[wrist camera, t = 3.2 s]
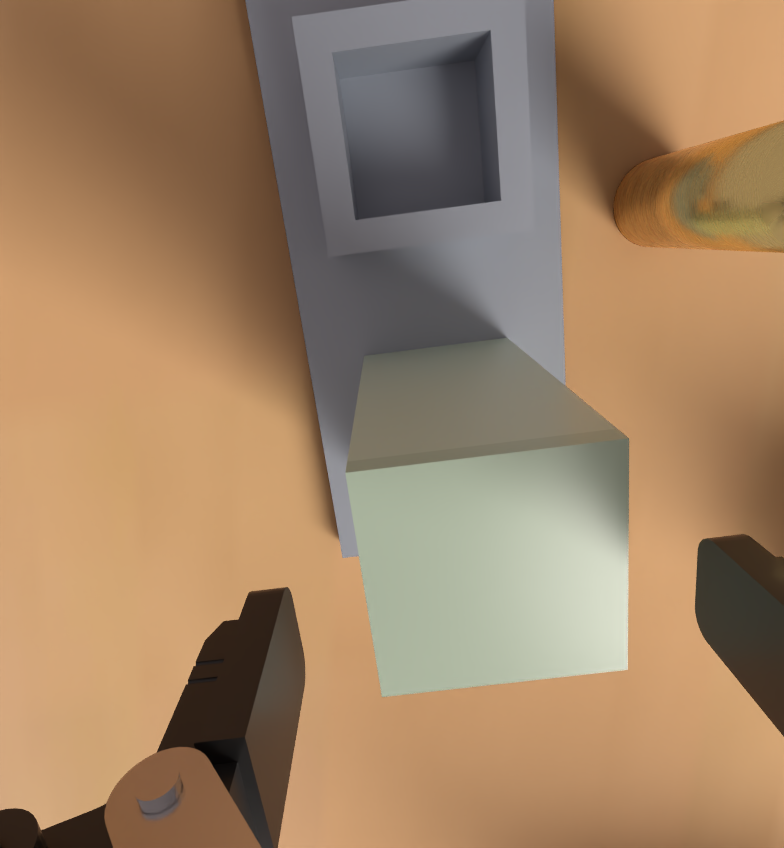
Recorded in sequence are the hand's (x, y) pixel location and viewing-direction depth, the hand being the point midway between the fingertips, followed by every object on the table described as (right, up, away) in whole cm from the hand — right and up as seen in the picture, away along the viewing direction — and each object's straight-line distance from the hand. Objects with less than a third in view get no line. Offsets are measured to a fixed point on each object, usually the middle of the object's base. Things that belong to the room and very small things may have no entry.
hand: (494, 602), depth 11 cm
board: (-1, +9, +11) cm, 15 cm away
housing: (0, +4, +12) cm, 13 cm away
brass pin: (+8, +12, +11) cm, 18 cm away
